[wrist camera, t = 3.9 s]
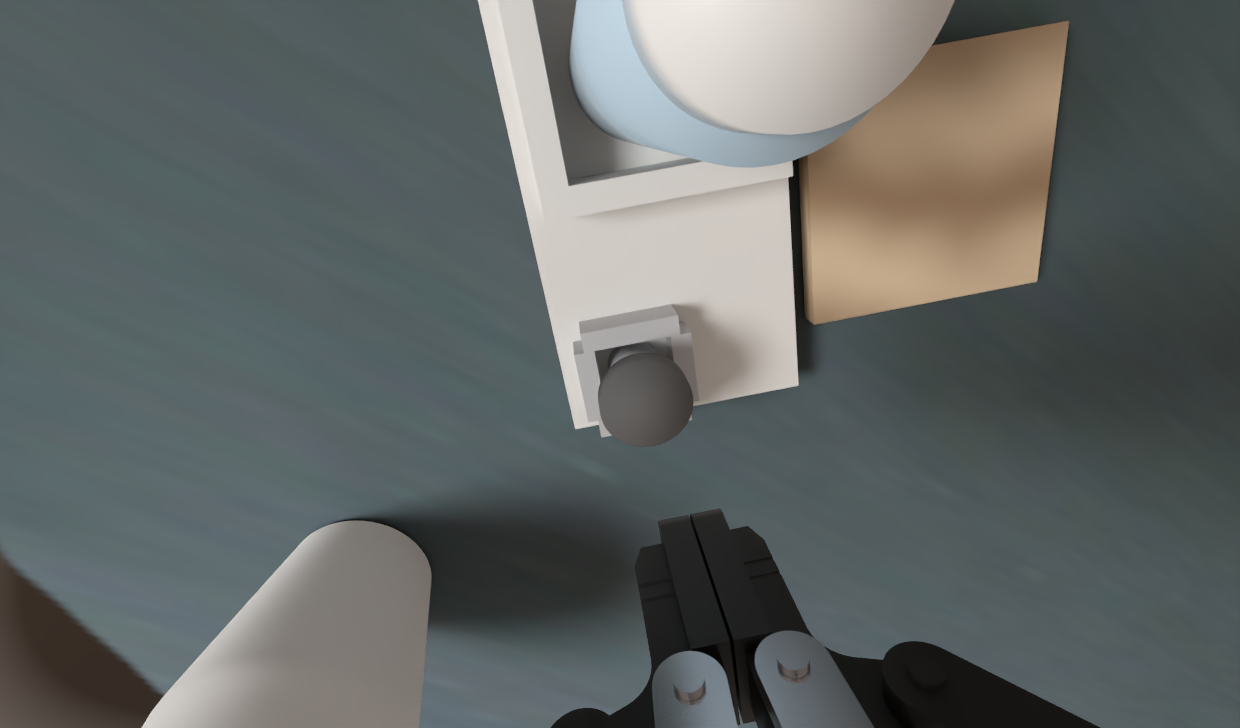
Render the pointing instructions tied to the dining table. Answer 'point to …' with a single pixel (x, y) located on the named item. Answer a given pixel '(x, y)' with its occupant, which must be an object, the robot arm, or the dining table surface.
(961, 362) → the dining table surface
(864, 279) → the coaster
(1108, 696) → the dining table surface
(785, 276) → the housing
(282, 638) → the cup
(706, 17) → the bottle
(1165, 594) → the dining table surface
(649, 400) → the plunger
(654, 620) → the robot arm
